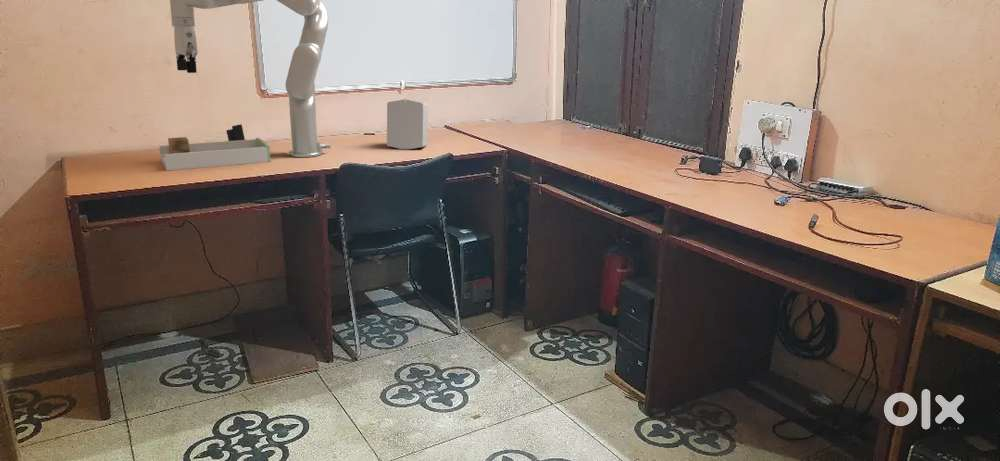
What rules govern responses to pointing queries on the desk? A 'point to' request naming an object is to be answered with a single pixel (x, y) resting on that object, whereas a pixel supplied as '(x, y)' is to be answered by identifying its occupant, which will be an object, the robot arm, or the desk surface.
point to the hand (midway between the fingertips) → (186, 71)
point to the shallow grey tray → (217, 154)
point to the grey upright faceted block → (406, 124)
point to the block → (178, 145)
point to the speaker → (235, 133)
